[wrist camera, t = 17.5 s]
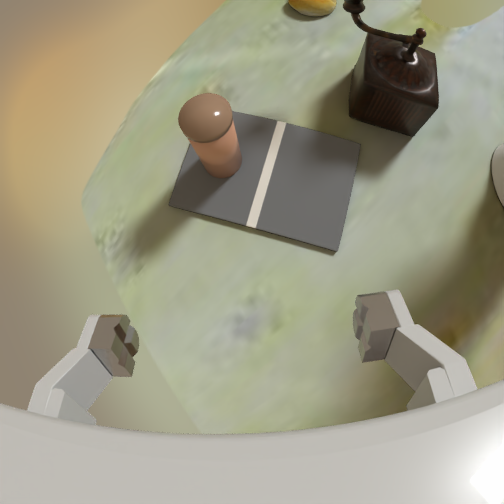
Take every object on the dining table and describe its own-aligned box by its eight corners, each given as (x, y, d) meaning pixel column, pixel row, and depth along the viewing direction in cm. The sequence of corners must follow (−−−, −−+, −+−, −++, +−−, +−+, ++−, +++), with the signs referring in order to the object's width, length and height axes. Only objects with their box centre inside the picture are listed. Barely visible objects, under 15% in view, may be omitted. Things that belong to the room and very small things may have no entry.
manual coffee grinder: (414, 83, 41) (459, 11, 23) (414, 139, 40) (474, 70, 22) (322, 55, 42) (339, -31, 24) (312, 109, 41) (331, 19, 23)
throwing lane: (359, 145, 40) (360, 144, 40) (336, 251, 39) (337, 251, 38) (206, 108, 42) (205, 106, 41) (169, 205, 41) (168, 204, 40)
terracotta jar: (247, 147, 40) (238, 98, 28) (235, 183, 40) (221, 143, 28) (210, 138, 41) (189, 89, 29) (197, 173, 40) (170, 133, 28)
